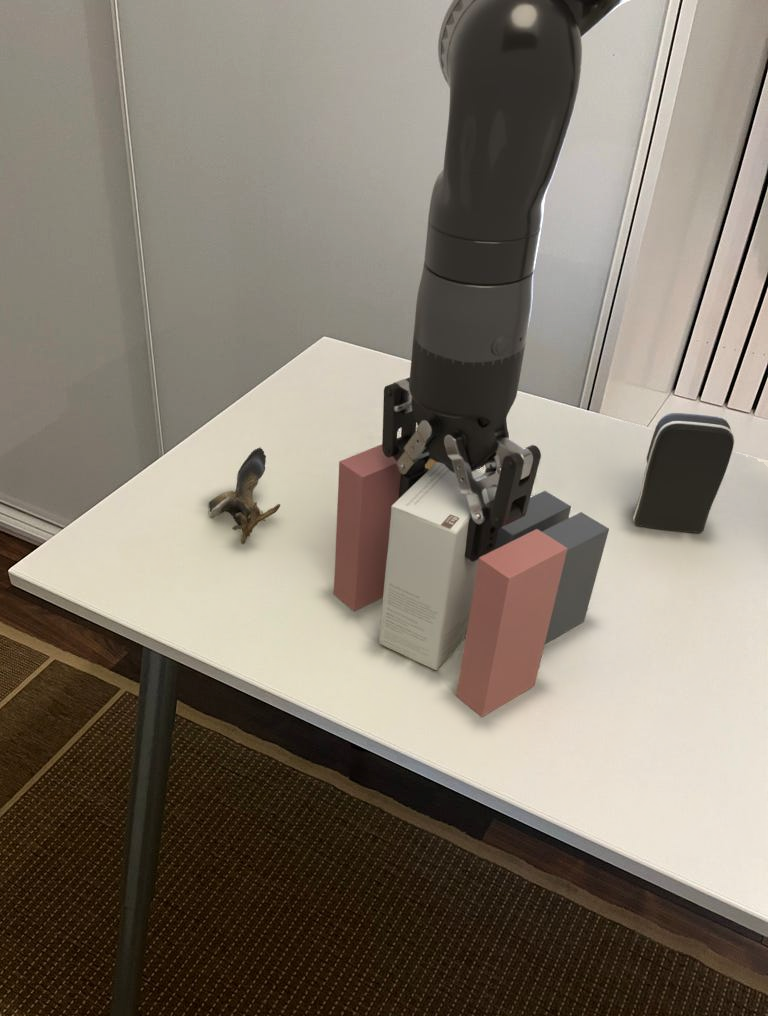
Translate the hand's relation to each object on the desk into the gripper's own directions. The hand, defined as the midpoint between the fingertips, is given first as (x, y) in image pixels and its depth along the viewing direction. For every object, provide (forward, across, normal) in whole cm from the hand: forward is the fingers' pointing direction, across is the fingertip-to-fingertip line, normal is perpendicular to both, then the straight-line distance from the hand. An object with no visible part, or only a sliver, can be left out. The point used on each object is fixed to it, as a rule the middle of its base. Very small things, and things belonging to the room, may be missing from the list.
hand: (443, 532), depth 76 cm
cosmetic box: (+11, 0, 0) cm, 11 cm away
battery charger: (+11, -1, -31) cm, 33 cm away
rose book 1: (+11, +8, 0) cm, 14 cm away
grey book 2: (+11, -5, -9) cm, 15 cm away
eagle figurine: (+11, +24, +3) cm, 27 cm away
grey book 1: (+11, -1, -9) cm, 14 cm away
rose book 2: (+11, -8, 0) cm, 14 cm away
